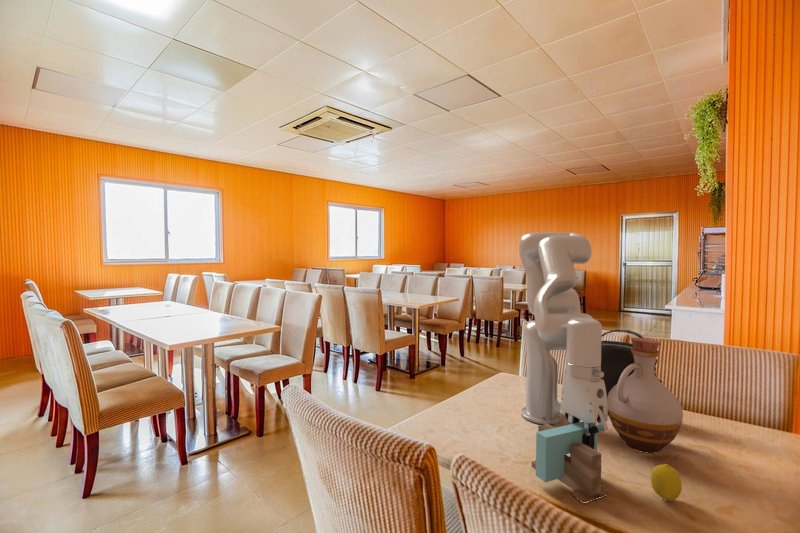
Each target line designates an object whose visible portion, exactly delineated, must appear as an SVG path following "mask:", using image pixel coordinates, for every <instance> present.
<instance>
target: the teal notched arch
mask: <svg viewBox="0 0 800 533" xmlns="http://www.w3.org/2000/svg"><path fill="white" fill-rule="evenodd" d="M590 428H591V425H590ZM583 434H585V429H584V421H580V422H579V423H574V424H570V425H568V424H567V425H562V426H557V427H554V428H552V429H548V430H543V431H539V432H538V431H536V434H535V435H536V436H535V438H536V439H535V440H536V441H535V445H536V447H535V461H536V469H535V476H536V477H537V478H538V479H540V480H541V481H543V482H544V483H548V482H552V481H556V480H559V478H562V477H564V455H565V454H566V455H570V456H569V457H571V445H573V444H577V443H583ZM598 435H599V432H598V433H597V434H595V441H594V450H596V451H597V452H598V444H599V443H598V442H599V441H598V438H599V436H598Z"/></svg>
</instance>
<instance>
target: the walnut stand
mask: <svg viewBox="0 0 800 533" xmlns="http://www.w3.org/2000/svg"><path fill="white" fill-rule="evenodd" d="M552 428H555V427H554V426H552V424H539V425H538V427H537V429H538V430H537V432H539V431H543V430H548V429H552ZM531 468H533V469H535V470H536V460H534V461H533V460H532V461H531ZM558 480H559V481H560V482H562V483H563V484H565V485H566V486H568V487H569V488H570V487H571V488H570V489H572V497H573V496H575V497H576V498H578V499H579V500H581V501H582V502H587V501H590V500H593V499H596V498H599V497H602V496H605V495H607V496H608V490H607V489H605V488H603V487H602V453H601V452H599V451H598V450H597V451H596V450H594V449H592V448H590V447H588V446H587V445H585V444H583V443H577V444H573V445H571V457H570V456H569V455H568V454H565V455H564V477H562V478H559V479H558ZM573 489H574V490H573ZM576 498H575V499H576ZM579 500H578V501H579Z"/></svg>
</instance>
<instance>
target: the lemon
mask: <svg viewBox="0 0 800 533" xmlns="http://www.w3.org/2000/svg"><path fill="white" fill-rule="evenodd" d="M650 483H651V486H652V490H653V491H654V492H655V494H656V495H658V496H659V497H660V498H661V499H663V500H664V499H665V500H668V501H672V500H675V499H678V497H680V495H681V493H682V489H683V484H682V478H681V476H680V474H679V473H678V471H677V469H675V468H674V467H672V466H670V465H669V464H667V463H664V464H659V465H656V466H655V467H654V468H653V470H652V472H651V476H650ZM665 500H664V501H665Z"/></svg>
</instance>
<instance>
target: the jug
mask: <svg viewBox="0 0 800 533" xmlns="http://www.w3.org/2000/svg"><path fill="white" fill-rule="evenodd" d="M630 340H631V344H632V345H633V348H631V352H632V353H633V356H634V362H635V364H631V365H629V366H627V367H626V368H625V369H624V371H623V372H622V374H621V376H620V378H619V381H618V384H616V385H615V386H614V387H613V388H612V389H611V390H610V392H609V394H608V398H607V406H608V413H609V414H608V415H609V416H608V417H609V419H610V423H611V424H612V427H613V429H614V430H615V432H616V433H617V435H618V436H619V438H621V440H622V441H623V442H624V443H625V445H626V446H628V448H630V449H632V450H634V449H635V450H634V451H636V450H638V451H637V452H639V451H642V452H641V453H643V452H648V453H647V454H655V453H654V452H657V453H659V452H660V451H662V450H663V449H665V448H666V447H667V446H668V445H670V444H671V443H672V442H673V441H674V440H675V439H676V437H677V435H678V433H679V431H680V430H681V429H680V428H681V426H682V422H683V419H684V418H683V416H684V412H683V407H682V404H681V402H680V401H679V399H678V397H677V396H676V395H675V394H674V393H673V392H672V391H671V390H670V389H669V388H668V387H666V386H665V385H664V384H663V382H662V383H661V382H660V380H661V379H659V377H657V375H656V376H655V374H654V372H655V370H654V366H655V367H656V365H655V362H656V359H657V357H659V355H660V351H659V350H658V348H659V347H660V344H661V341H659V340H656V339H651V338H645V337H644V338H639V337H636V336H635V337H631V338H630ZM633 369H635V370H634V373H632V374H631V375H630V376H628V375H629V373H630V372H631V371H632V370H633ZM627 376H628V377H627Z"/></svg>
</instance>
